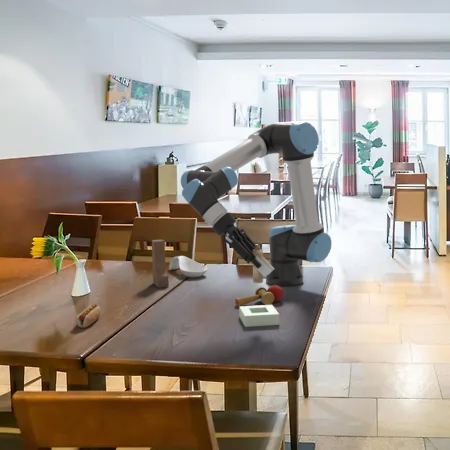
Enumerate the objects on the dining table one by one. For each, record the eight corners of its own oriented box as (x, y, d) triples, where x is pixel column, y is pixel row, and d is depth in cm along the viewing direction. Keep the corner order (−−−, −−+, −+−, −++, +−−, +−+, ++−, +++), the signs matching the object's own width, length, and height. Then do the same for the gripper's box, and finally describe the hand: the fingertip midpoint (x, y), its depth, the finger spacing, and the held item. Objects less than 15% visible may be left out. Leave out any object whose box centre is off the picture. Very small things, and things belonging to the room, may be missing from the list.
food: (87, 316, 209) (87, 302, 208) (103, 316, 208) (103, 302, 207) (73, 329, 195) (72, 314, 194) (90, 329, 194) (89, 314, 194)
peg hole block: (269, 310, 211) (268, 300, 210) (279, 324, 195) (279, 314, 195) (237, 312, 209) (237, 302, 209) (244, 326, 194) (244, 316, 193)
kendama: (243, 313, 213) (288, 300, 220) (239, 295, 213) (285, 282, 219) (234, 311, 220) (279, 298, 227) (231, 294, 220) (275, 282, 227)
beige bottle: (262, 280, 200) (261, 243, 198) (263, 282, 197) (263, 245, 195) (252, 280, 199) (251, 244, 198) (254, 283, 196) (253, 246, 194)
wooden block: (168, 287, 246) (167, 242, 244) (157, 288, 245) (156, 243, 242) (163, 282, 255) (162, 239, 252) (153, 283, 253) (151, 240, 251)
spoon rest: (212, 276, 264) (212, 260, 263) (189, 281, 257) (188, 264, 256) (183, 267, 283) (183, 252, 282) (161, 271, 276) (160, 255, 275)
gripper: (221, 224, 208) (269, 275, 205) (202, 231, 193) (253, 286, 190) (235, 208, 206) (284, 260, 202) (218, 215, 191) (270, 270, 187)
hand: (269, 272), depth 196 cm, fingers closed on beige bottle, 3 cm apart
